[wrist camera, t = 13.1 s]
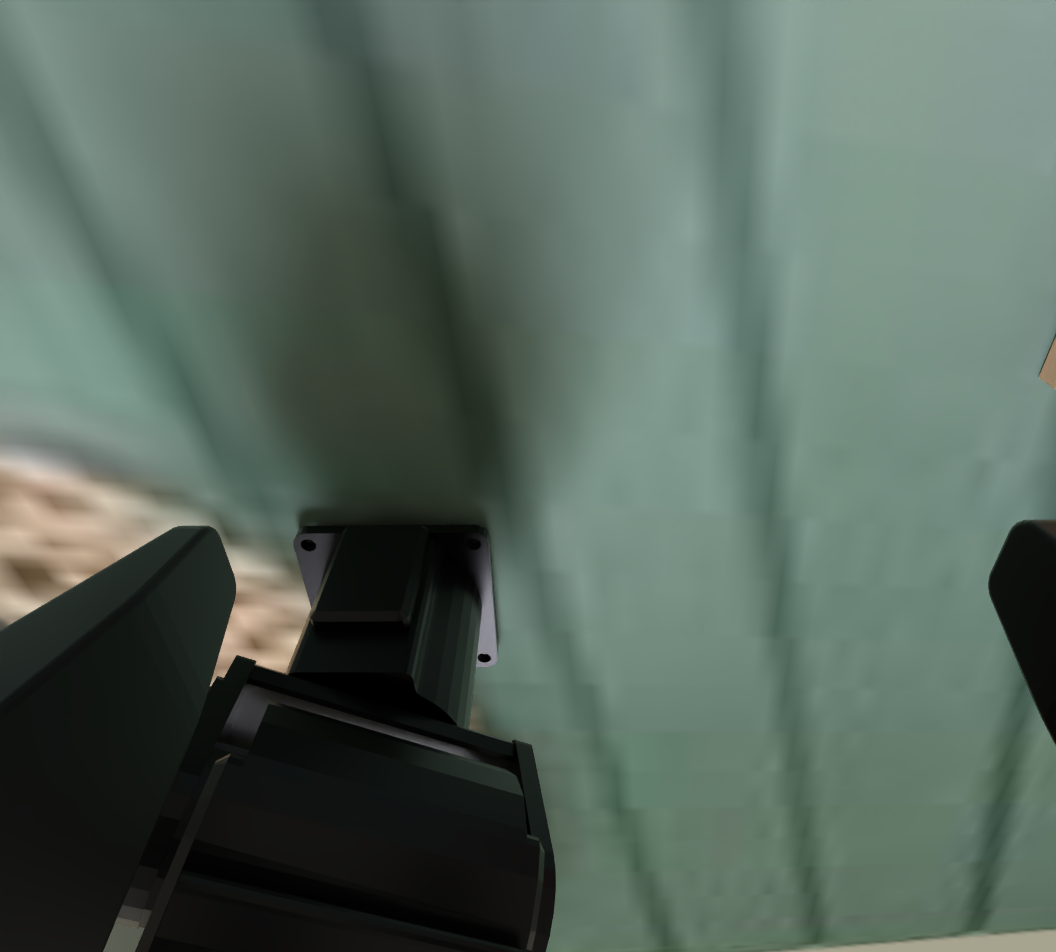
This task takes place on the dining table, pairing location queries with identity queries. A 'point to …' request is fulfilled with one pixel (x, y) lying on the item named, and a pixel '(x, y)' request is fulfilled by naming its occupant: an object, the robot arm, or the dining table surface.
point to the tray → (1050, 367)
